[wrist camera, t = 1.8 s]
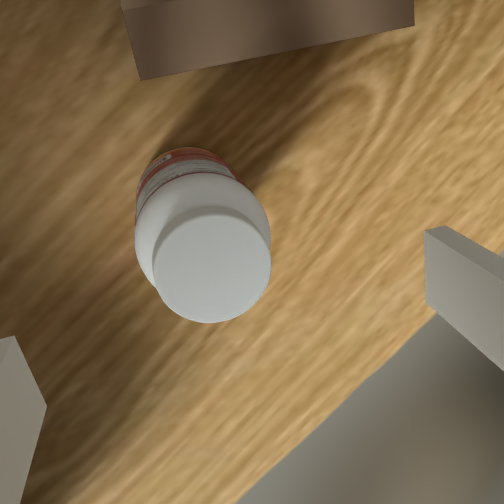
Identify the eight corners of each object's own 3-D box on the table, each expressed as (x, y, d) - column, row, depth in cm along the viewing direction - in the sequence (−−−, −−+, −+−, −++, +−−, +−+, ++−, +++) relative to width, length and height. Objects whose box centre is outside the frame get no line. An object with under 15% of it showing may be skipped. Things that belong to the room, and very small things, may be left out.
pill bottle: (234, 246, 30) (280, 340, 20) (134, 243, 29) (131, 343, 19) (244, 148, 28) (301, 199, 18) (137, 140, 27) (135, 190, 17)
